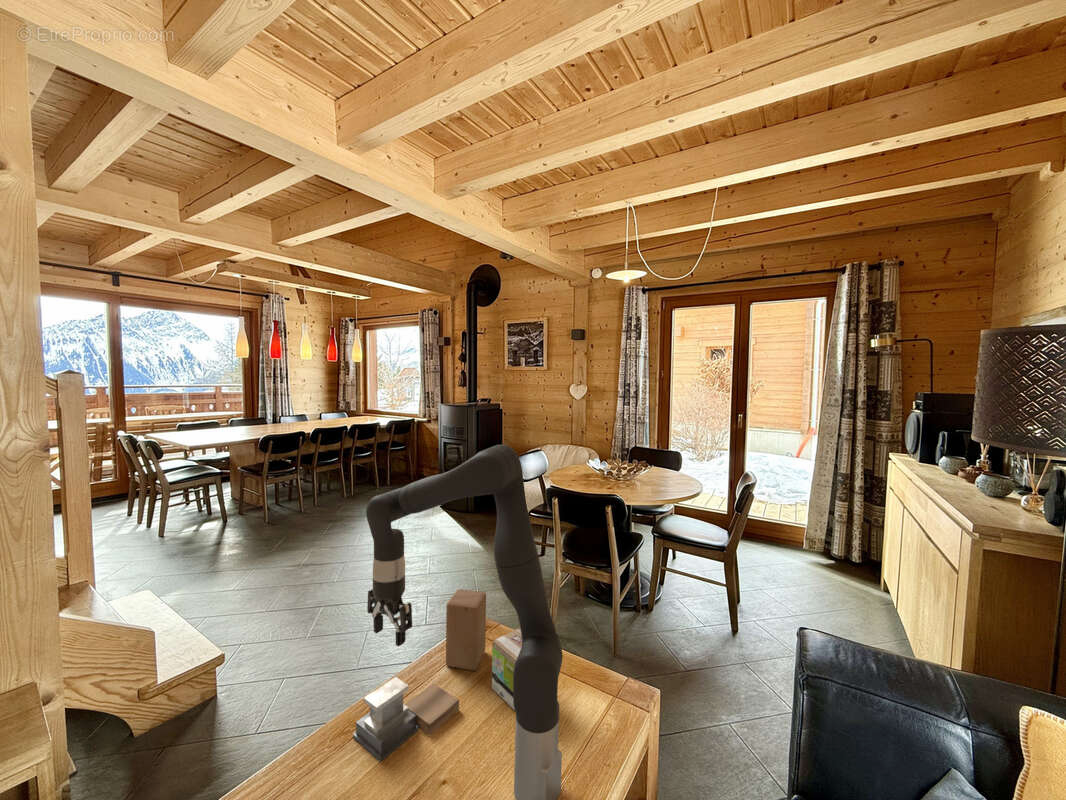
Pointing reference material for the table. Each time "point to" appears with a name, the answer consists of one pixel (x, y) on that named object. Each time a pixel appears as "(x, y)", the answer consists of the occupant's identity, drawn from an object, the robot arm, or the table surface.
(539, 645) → the robot arm
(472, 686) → the table surface
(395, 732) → the stand
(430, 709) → the stand
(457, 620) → the wooden block
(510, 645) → the tea box
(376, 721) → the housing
